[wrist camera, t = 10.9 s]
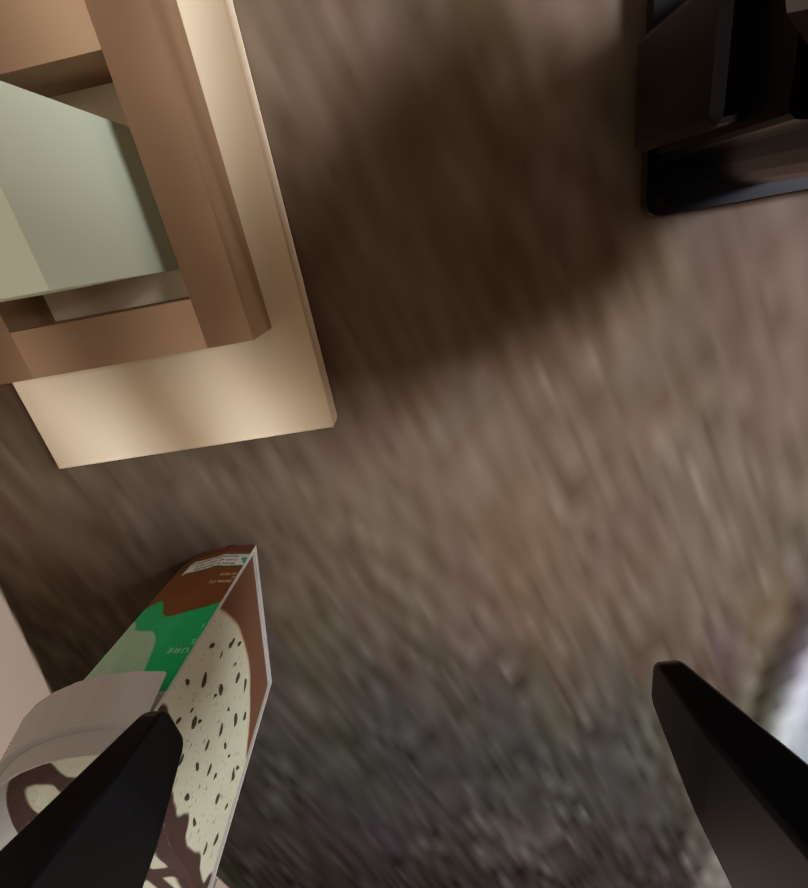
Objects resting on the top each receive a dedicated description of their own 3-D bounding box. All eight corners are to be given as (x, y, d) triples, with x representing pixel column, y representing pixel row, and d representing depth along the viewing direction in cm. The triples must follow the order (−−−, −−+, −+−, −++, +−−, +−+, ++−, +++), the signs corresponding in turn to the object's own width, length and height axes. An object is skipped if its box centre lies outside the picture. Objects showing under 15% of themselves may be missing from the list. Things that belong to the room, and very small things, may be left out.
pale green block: (130, 127, 14) (-61, 58, 8) (180, 269, 15) (49, 289, 10) (9, 155, 14) (-251, 106, 9) (70, 290, 16) (-114, 321, 10)
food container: (117, 510, 21) (-117, 728, 12) (253, 517, 21) (125, 741, 12) (165, 694, 26) (29, 944, 17) (274, 700, 26) (196, 953, 17)
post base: (180, -208, 11) (106, -344, 9) (337, 417, 18) (324, 449, 16) (-214, -90, 13) (-388, -178, 10) (76, 457, 20) (21, 494, 17)
